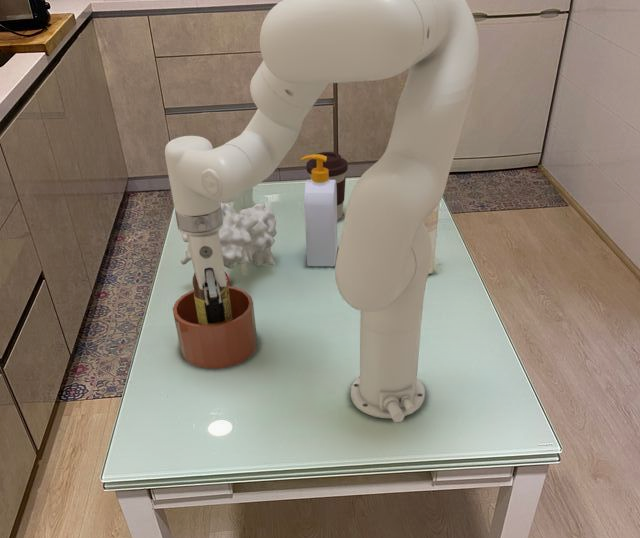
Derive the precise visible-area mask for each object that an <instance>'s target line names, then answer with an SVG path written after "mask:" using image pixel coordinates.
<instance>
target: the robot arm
mask: <svg viewBox="0 0 640 538" xmlns="http://www.w3.org/2000/svg"><path fill="white" fill-rule="evenodd" d="M477 27H478V26H477V24H476V20H475V17H474V15H473V12H472V10H471V8H470V6H469V4H468V2H467V1H466V0H281V1H280V2H278V3H277V4H275V5H274V6H273V7H272V8H270V10H269V11H268V13H267V14H266V16H265V17H264V20H263V22H262V25H261V27H260V34H259V49H260V56H261V57H262V61H261V63H260V65H259V66H258V68H257V70H256V71H255V72H254V74H253V76H252V78H251V80H250V84H249V92H250V97H251V99H252V102H253V104H254V105H255V106H256V108H257V109H256V112H255V113H254V115H253V116H252V118H251V120H249V123H248V124H247V125H246V127H245V128H244V130H242V132H241V133H240V135H238V136H236V137H234V138H232V139H230V140H229V141H227V142H226V143H224V144H222V145H220V146H217V147H215V148H214V147H213V144H212V143H211V141H209V139H207V138H205V137H203V136H199V135H184V136H179V137H176V138H174V139H171V140H170V141H168V143H167V144H166V145H165V148H164V158H165V159H164V160H165V163H166V170H167V174H168V180H169V186H170V192H171V197H172V202H173V208H174V214H175V220H176V223H177V224H176V225H177V230H178V231H179V233H180V234H182V233H183V234H186V235H187V240H188V242H187V246H188V245H189V250H190V255H191V260H190V261H191V265H192V269H193V271H194V272H195V275H196V278H197V282H198V285H199V288H200V289H201V290H204V296H205V302H206V303H204V305H205V311H206V317H207V322H208V323H209V324H210V323H217V322H223V321H225V313H224V307H223V301H222V300H221V295H220V289H219V285H220V287H226V286H227V282H228V280H227V281H226V279H227V277H226V274H225V272H226V269H225V266H224V261H223V255H222V248H221V242H220V237H219V232H218V230H220V229H221V228H222V226H223V218H222V210H221V203H224V204H230V203H233V201H234V200H236V199H238V198H239V197H241V196H242V195H244V194H245V193H246V192H248V191H249V190H250V189H252V188H253V189H254V188H255V187H256V186H258V185H259V184H261V183H262V182H264V181H265V180H267V179H268V178H269V177H270V176H271V175H273V173H274V172H275V171H276V169H278V167H279V165H280V164H281V163H282V162H283V160H284V158H285V157H286V156H287V154H288V153H289V152H290V151H291V149H292V147H293V146H294V144H295V143H296V142H297V139H298V137H299V135H300V132H301V129H302V127H303V121H304V119H306V117H307V116H308V114H309V112H310V111H311V109H312V108H313V106H314V105H315V104H316V103H317V101H318V100H319V98H320V97H321V96H322V94H323V93H324V91H325V90H326V88H327V87H328V85H329V84H340V83H359V82H374V81H380V80H386V79H390V78H393V77H395V76H399V75H400V74H402V73H404V72H405V71H407V70H408V74H407V78H406V80H405V83H404V86H403V88H402V91H401V94H400V97H399V100H398V102H397V106H396V110H395V115H394V120H393V126H392V129H391V133H390V137H389V140H388V144H387V145H386V148H385V151H384V153H383V155H381V157H380V158H379V159H378V160H377V161H376V162H375V163H373V164H372V165H371V166H370V167H369V168H368V169H367V170H366V171H364V172H363V174H362V175H361V176H360V177H359V178H358V179H357V181H356V183H355V184H354V186H353V188H352V190H351V192H350V195H349V198H348V201H347V205H346V210H345V214H344V219H343V223H342V229H341V234H340V239H339V244H338V248H337V255H336V262H335V266H334V276H335V283H336V287H337V290H338V292H339V294H340V296H341V297H342V299H343V300H344V302H346V303H347V305H349V306H350V307H351V308H353V309H354V310H357V311H359V312H360V319H359V321H360V322H359V323H360V325H359V326H360V327H359V376H358V377H357V378H355V380H354V381H353V382H352V384H351V386H350V399H351V401H352V403H353V405H354V406H355V408H357V410H360V411H361V412H362V413H364V414H366V415H369V416H372V417H375V418H380V419H392V421H393V422H394V423H396V424H397V423H401V422H403V420H404V419H405V417H406V416H410V415H411V414H414V413H415V412H417V411H418V410H419V409H420V408H421V407H422V405H423V404H424V401H425V398H426V397H425V396H426V390H425V386H424V384H423V383H422V382H421V380H420V379H419V378H418V371H419V370H418V369H419V368H418V367H419V356H420V346H421V331H422V322H423V321H422V320H423V310H424V299H425V294H426V293H425V292H426V287H427V286H426V285H427V282H428V277H429V274H428V272H429V267H430V262H431V254H432V245H431V238H430V235H429V232H428V230H427V228H426V226H425V225H424V224H423V221H424V220H425V219H426V218H427V217H428V216H429V215H430V214H431V213H432V211H433V210H434V209H435V208H436V207H437V205H438V204H439V205H440V203H441V200H442V198H443V196H444V194H445V191H446V187H447V183H448V179H449V175H450V171H451V168H452V165H453V161H454V158H455V155H456V151H457V148H458V145H459V141H460V138H461V135H462V131H463V126H464V122H465V119H466V116H467V112H468V109H469V106H470V103H471V99H472V94H473V92H474V88H475V84H476V79H477V74H478V68H479V59H480V41H479V33H478V28H477ZM205 250H206V251H205ZM205 273H206V275H205ZM215 282H216V285H215ZM205 283H207V284H208V286H206V287H205ZM207 290H209V295H207ZM216 290H217V292H216Z"/></svg>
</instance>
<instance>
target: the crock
mask: <svg viewBox="0 0 640 538" xmlns="http://www.w3.org/2000/svg"><path fill="white" fill-rule="evenodd" d="M228 288H229V297H230V304H231V312H232V321H229V322H226V323H222V324H216V325H199V323H198V316H197V310H196V304H195V298H194V289H192V290H190V291H188V292H186V293H185V294H183V295H181V296H180V297H179V298H178V299H177V300H176V301H175V302H174V304H173V307H172V313H173V318H174V323H175V329H176V334H177V339H178V344H179V349H180V352H181V355H182V357H183V359H184V360H185V361H186V362H188V363H189V364H191V365H192V366H195V367H198V368H202V369H208V370H209V369H210V370H211V369H213V370H216V369H226V368H231V367H233V366H236V365H239V364H241V363H244V362H245V361H247V360H248V359H249V358H250V357H252V356H253V354H254V353H255V352H256V350H257V347H258V335H257V325H256V317H255V307H254V301H253V298H252V295H250V294H249V292H247V291H246V290H244V289H242V288H239V287H236V286H231V285H228Z"/></svg>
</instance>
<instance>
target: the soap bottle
mask: <svg viewBox="0 0 640 538" xmlns="http://www.w3.org/2000/svg"><path fill="white" fill-rule="evenodd" d="M311 159H316V160H317V168H314V169H312V170H311V171H312V180H309V179H306V181H305V185H304V191H303V192H304V194H303V195H304V196H303V201H304V202H303V205H304V206H303V209H304V228H305V229H304V231H305V249H306V250H305V251H306V265H307V267H335V266H336V259H337V254H338V249H339V244H338V220H337V185H336V180H329V170H328V169H327V168H324V167H323V161H324V162H326V159H327V156H324V155H320V154H317V153H315V154H307V155H305V156H303V157H301V159H300V161H301V162H304V161H306V160H311Z"/></svg>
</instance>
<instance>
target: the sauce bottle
mask: <svg viewBox="0 0 640 538" xmlns="http://www.w3.org/2000/svg"><path fill="white" fill-rule="evenodd" d="M205 251H206V250H205ZM205 275H206V273H205ZM226 281H227V286H226V287H220V285H219V289H220V295H221V300H222V301H223V307H224V313H225V321H223V322H217V323H210V324H209V323H208V322H207V317H206V311H205V305H204V303H206V302H205V296H204V290H201V289H200V288H199V285H198V282H197V278H196V275H195V273H193V276H192V287H193V290H194V298H195V304H196V310H197V316H198V323H199V325H216V324H222V323H226V322H229V321H232V312H231V304H230V297H229V288H228V286H229V285H228V280H226ZM215 285H216V282H215ZM206 286H208V284H207V283H205V287H206ZM216 292H217V290H216ZM207 295H209V290H207Z"/></svg>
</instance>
